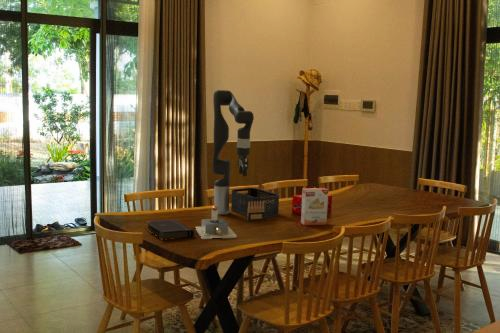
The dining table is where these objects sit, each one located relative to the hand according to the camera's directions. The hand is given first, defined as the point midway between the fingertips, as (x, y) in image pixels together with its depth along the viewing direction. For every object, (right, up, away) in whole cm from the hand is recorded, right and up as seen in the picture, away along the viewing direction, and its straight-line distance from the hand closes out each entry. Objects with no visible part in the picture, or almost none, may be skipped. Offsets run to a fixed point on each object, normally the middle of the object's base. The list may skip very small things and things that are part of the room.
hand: (242, 175), depth 319 cm
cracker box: (+41, -29, +7) cm, 50 cm away
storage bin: (+7, -25, +33) cm, 41 cm away
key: (-15, -29, -17) cm, 37 cm away
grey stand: (-14, -31, -19) cm, 39 cm away
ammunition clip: (+7, -27, +12) cm, 31 cm away
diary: (-39, -31, -21) cm, 54 cm away
